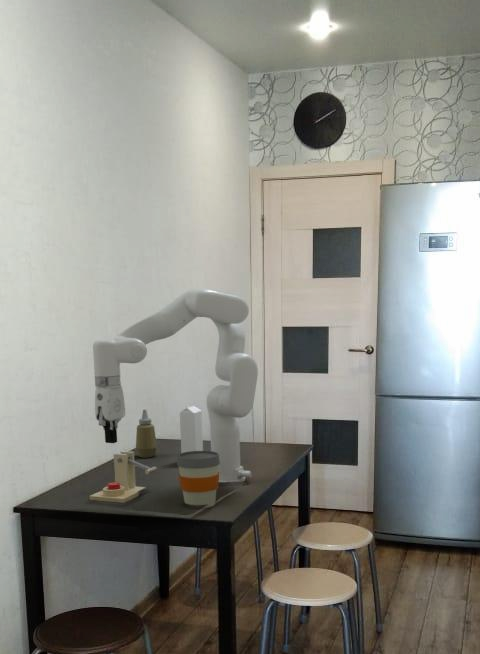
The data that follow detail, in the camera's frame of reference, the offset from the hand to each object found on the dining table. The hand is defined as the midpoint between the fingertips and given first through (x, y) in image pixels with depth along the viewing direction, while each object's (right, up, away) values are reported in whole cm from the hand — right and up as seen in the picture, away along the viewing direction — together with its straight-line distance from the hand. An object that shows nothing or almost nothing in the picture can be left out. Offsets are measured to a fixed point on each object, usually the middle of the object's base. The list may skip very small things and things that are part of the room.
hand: (111, 442), depth 255 cm
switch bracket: (+3, -16, +13) cm, 21 cm away
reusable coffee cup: (+27, -19, -4) cm, 33 cm away
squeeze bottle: (+3, -6, +69) cm, 69 cm away
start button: (0, -14, +3) cm, 14 cm away
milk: (+21, -8, +56) cm, 60 cm away
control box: (+1, -18, +3) cm, 18 cm away
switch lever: (+6, -8, +10) cm, 14 cm away
